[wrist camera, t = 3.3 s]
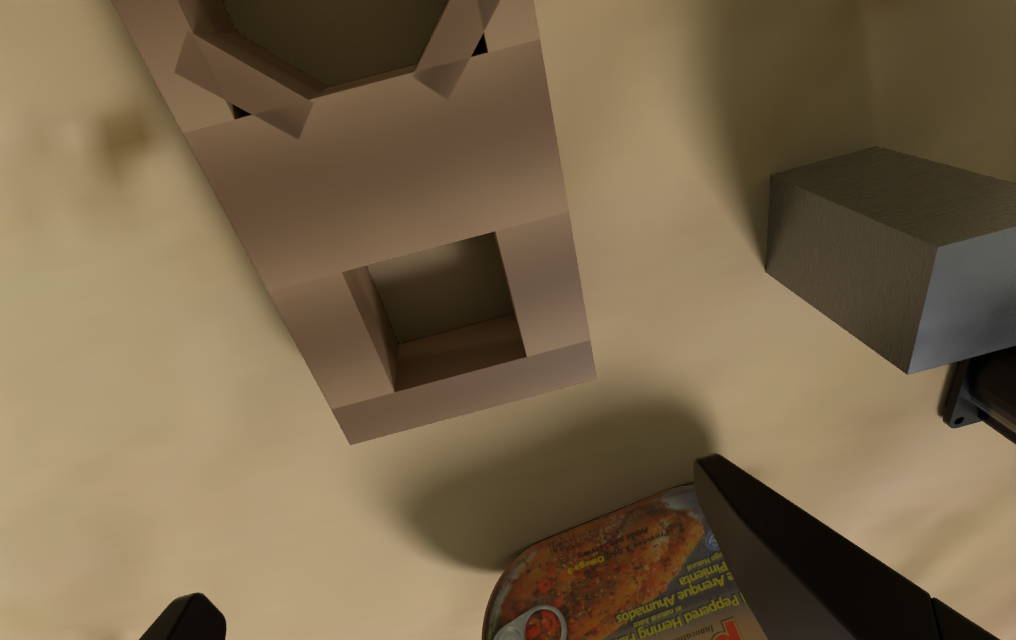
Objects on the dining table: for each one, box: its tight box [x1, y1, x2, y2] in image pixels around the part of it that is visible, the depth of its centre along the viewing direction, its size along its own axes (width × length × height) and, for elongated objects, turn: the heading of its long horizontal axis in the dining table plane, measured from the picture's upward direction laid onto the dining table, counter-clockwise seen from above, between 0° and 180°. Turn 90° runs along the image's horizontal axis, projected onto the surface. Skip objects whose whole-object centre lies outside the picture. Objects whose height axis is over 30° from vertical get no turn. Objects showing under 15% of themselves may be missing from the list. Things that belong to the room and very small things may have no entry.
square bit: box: [766, 147, 1016, 375], centre depth 16 cm, size 4×4×7 cm
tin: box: [482, 485, 768, 640], centre depth 24 cm, size 15×3×8 cm, turn 113°
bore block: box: [111, 0, 597, 445], centre depth 15 cm, size 18×9×3 cm, turn 13°
